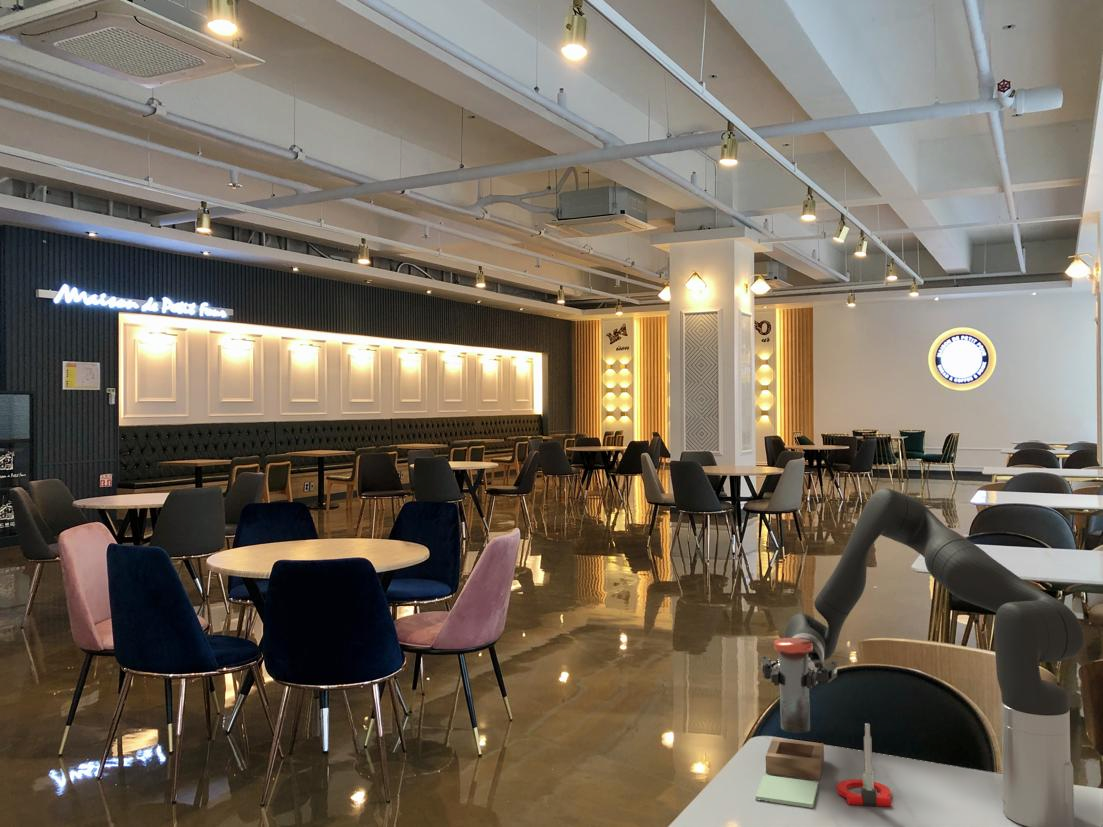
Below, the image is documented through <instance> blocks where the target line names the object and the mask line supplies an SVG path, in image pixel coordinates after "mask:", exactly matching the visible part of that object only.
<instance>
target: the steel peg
mask: <svg viewBox="0 0 1103 827" xmlns="http://www.w3.org/2000/svg"><path fill="white" fill-rule="evenodd" d="M773 649H774V650H775V651H776V652H778V658H779V672H780V684H779V708H780V709H779V710H780V712H779V713H780V728H781V730H782V731H784V732H788V733H791V734H805V733H808V732H810V731H811V720H810V719H811V714H810V713H811V712H810V710H811V708H810V689H809V688H807V674H808V672H809V668H808V653H810V652H812V651H813V643H812V642H811V641H809V640H806V639H801V638H785V637H781V638H777V639H775V640H774V641H773Z"/></svg>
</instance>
